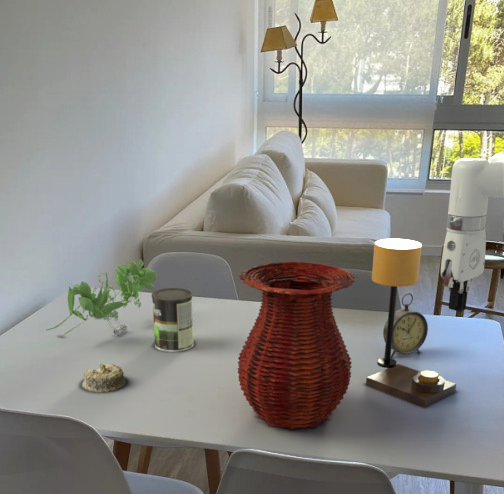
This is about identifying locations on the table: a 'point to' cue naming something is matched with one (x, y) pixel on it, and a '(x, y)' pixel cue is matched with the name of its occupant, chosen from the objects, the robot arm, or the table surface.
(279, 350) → the vase
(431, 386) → the lamp base
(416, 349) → the alarm clock
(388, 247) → the lamp
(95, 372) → the cake
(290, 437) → the table surface
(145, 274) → the plant cuttings
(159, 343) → the coffee can
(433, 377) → the lamp switch
